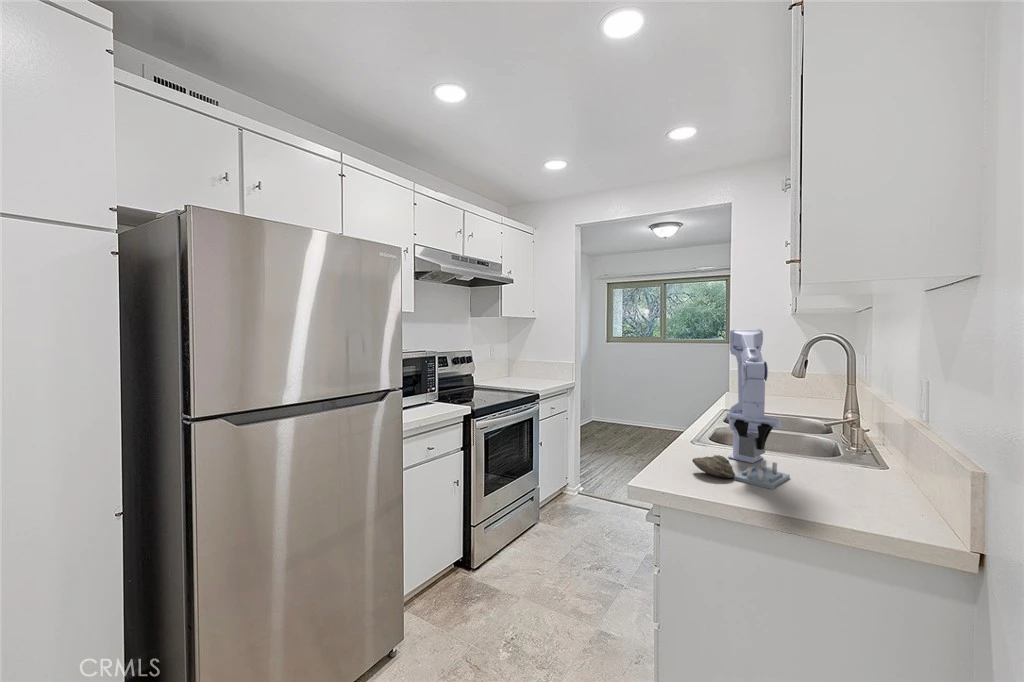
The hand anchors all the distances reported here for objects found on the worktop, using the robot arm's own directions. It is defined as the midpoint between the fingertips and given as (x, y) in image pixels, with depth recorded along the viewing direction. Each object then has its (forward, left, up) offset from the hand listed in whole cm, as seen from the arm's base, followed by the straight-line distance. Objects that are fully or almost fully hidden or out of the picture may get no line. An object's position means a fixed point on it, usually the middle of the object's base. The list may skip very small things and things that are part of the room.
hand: (752, 447), depth 131 cm
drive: (0, 0, -2) cm, 2 cm away
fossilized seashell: (+8, -8, -9) cm, 14 cm away
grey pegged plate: (0, +3, -9) cm, 9 cm away
